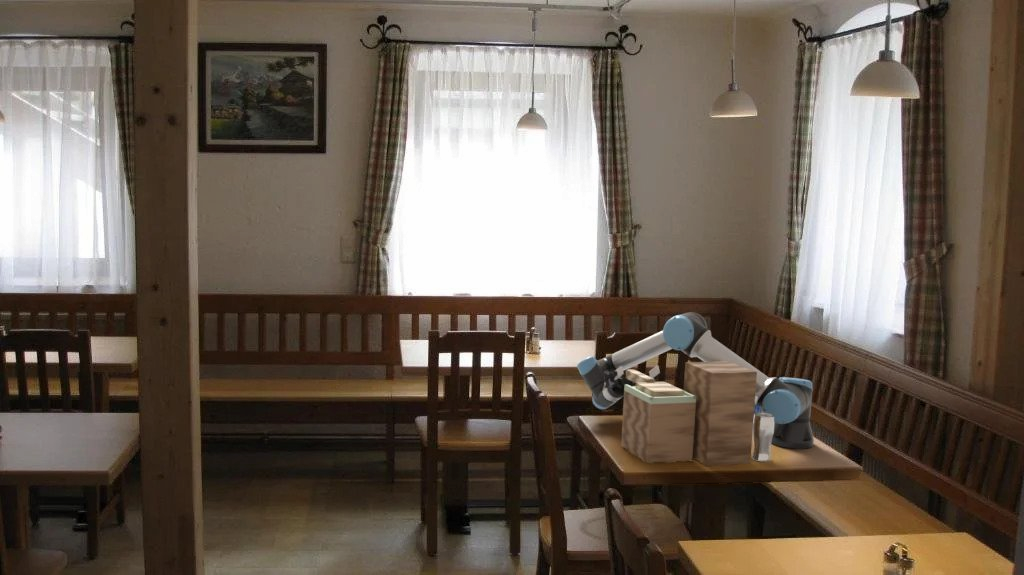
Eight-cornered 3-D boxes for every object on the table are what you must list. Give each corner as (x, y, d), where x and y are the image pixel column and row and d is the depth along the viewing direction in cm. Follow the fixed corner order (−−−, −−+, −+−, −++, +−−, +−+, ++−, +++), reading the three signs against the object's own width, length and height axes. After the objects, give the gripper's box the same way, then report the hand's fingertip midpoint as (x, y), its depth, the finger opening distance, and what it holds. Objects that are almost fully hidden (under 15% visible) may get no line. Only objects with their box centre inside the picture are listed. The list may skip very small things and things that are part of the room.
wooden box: (621, 446, 342) (624, 390, 340) (663, 444, 347) (667, 388, 345) (647, 463, 323) (650, 404, 321) (692, 460, 328) (695, 402, 326)
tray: (624, 390, 340) (624, 384, 340) (667, 388, 345) (667, 383, 345) (650, 404, 321) (651, 397, 321) (695, 402, 326) (696, 396, 326)
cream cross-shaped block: (615, 378, 353) (616, 369, 353) (643, 377, 356) (643, 369, 356) (654, 397, 325) (654, 388, 324) (683, 396, 328) (684, 387, 328)
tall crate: (679, 450, 341) (685, 362, 337) (722, 448, 346) (727, 361, 342) (706, 465, 324) (712, 373, 320) (750, 463, 329) (756, 372, 325)
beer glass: (772, 463, 330) (775, 418, 328) (750, 461, 331) (753, 416, 329) (771, 457, 336) (774, 413, 335) (750, 455, 338) (753, 411, 336)
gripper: (649, 397, 368) (675, 379, 349) (585, 399, 360) (608, 381, 341) (646, 377, 371) (671, 358, 352) (582, 379, 363) (604, 359, 344)
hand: (640, 369), depth 347 cm, fingers open, 13 cm apart
